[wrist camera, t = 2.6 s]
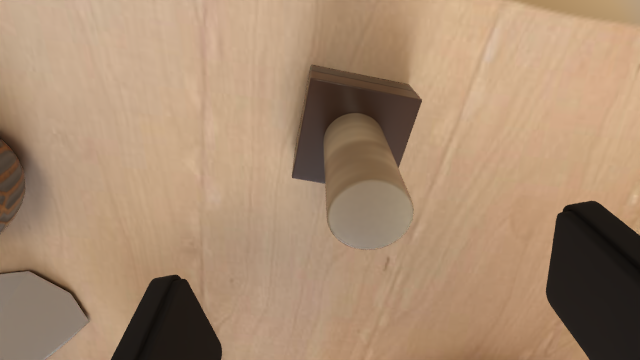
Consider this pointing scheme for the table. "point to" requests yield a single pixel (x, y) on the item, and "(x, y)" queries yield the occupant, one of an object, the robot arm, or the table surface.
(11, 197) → the vase
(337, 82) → the peg on square base
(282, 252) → the table surface
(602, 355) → the robot arm
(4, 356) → the flask
